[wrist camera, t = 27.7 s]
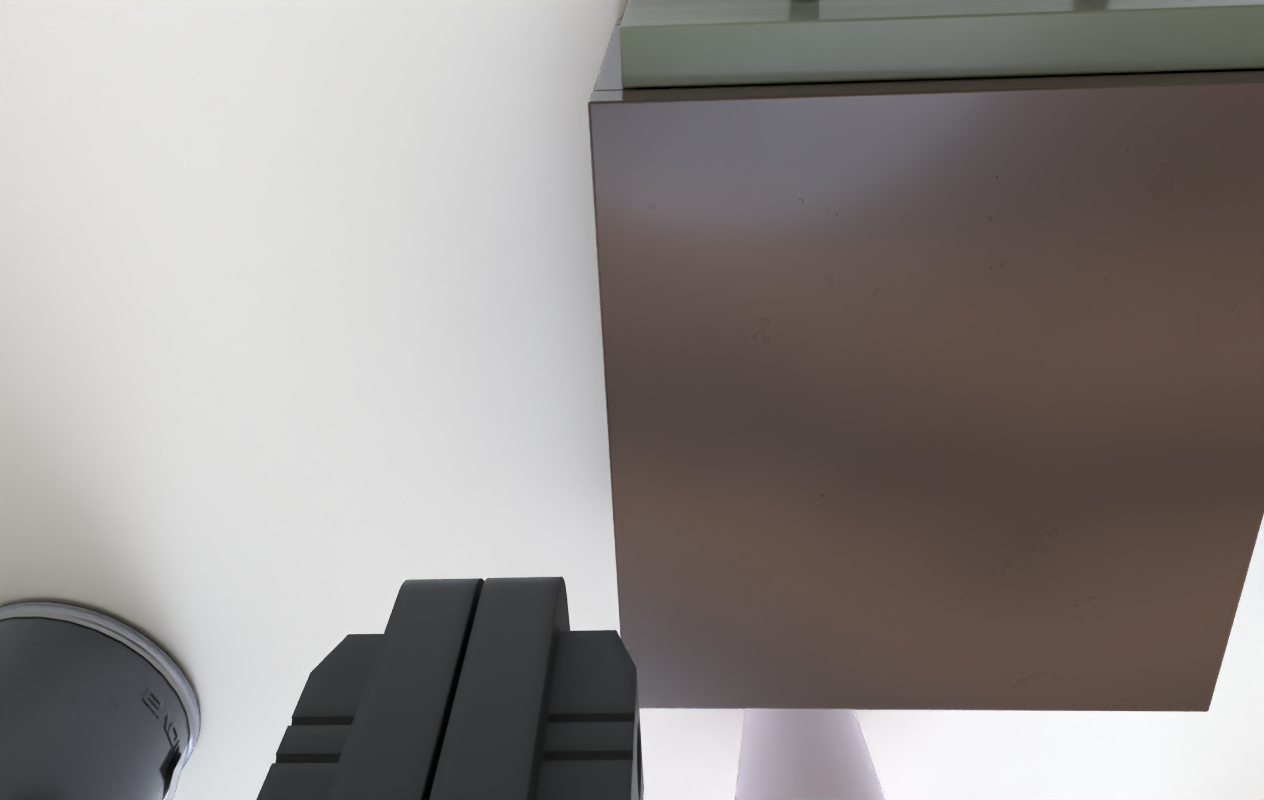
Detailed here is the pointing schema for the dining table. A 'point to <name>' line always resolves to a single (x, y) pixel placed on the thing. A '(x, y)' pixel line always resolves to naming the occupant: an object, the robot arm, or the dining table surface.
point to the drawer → (928, 40)
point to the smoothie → (805, 756)
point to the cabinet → (932, 387)
